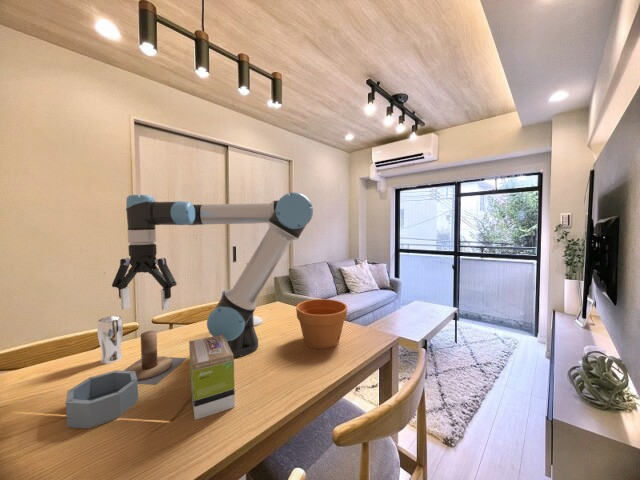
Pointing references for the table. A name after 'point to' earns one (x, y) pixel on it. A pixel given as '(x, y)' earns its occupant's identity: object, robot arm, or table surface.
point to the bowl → (101, 399)
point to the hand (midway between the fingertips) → (145, 308)
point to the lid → (150, 359)
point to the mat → (157, 379)
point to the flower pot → (321, 321)
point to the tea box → (211, 376)
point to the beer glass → (110, 338)
